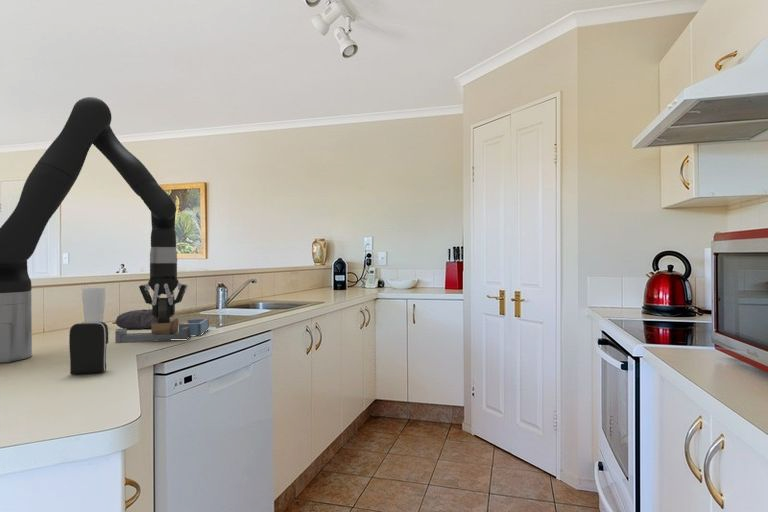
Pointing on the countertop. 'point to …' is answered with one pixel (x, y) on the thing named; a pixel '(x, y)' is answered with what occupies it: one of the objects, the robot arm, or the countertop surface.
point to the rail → (149, 336)
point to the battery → (88, 347)
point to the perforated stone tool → (136, 319)
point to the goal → (196, 326)
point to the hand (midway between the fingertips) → (163, 316)
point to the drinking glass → (93, 303)
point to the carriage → (164, 319)
